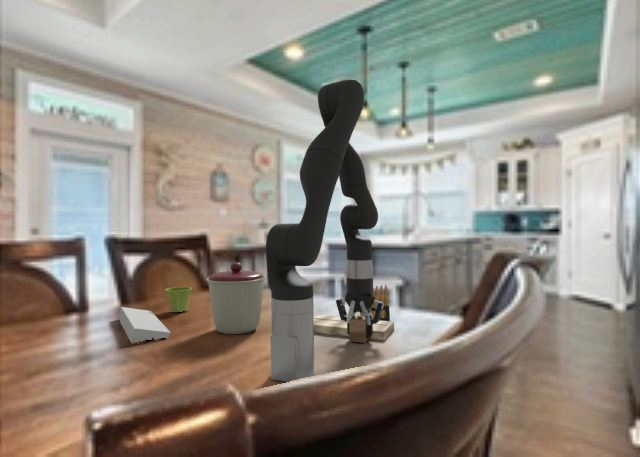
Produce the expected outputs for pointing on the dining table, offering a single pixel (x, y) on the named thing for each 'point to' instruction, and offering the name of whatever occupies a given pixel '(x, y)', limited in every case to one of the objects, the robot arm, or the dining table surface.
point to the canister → (236, 299)
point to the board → (340, 327)
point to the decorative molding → (142, 325)
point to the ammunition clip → (385, 312)
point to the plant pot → (178, 298)
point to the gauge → (358, 329)
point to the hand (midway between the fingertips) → (360, 336)
